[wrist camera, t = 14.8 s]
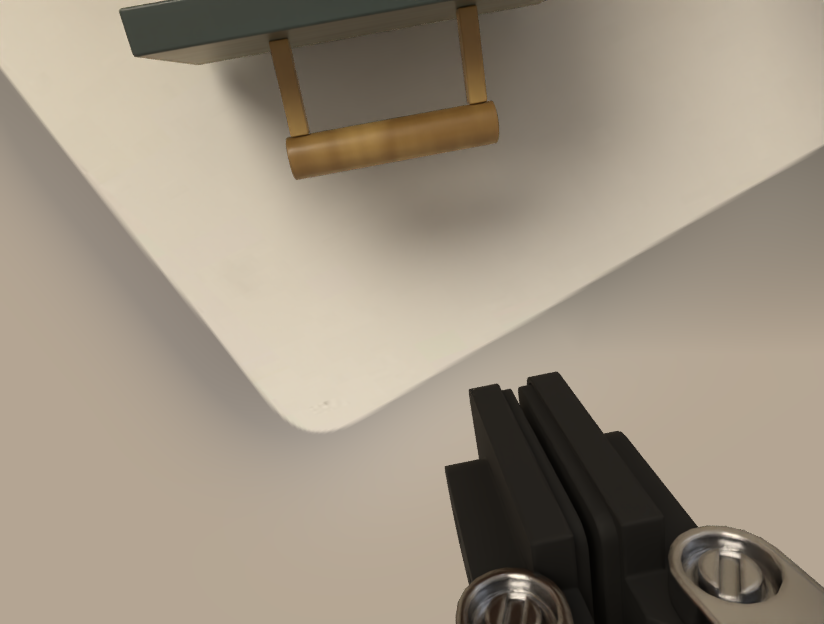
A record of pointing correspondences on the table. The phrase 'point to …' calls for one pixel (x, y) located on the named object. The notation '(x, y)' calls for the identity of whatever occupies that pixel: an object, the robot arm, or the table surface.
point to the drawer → (317, 23)
